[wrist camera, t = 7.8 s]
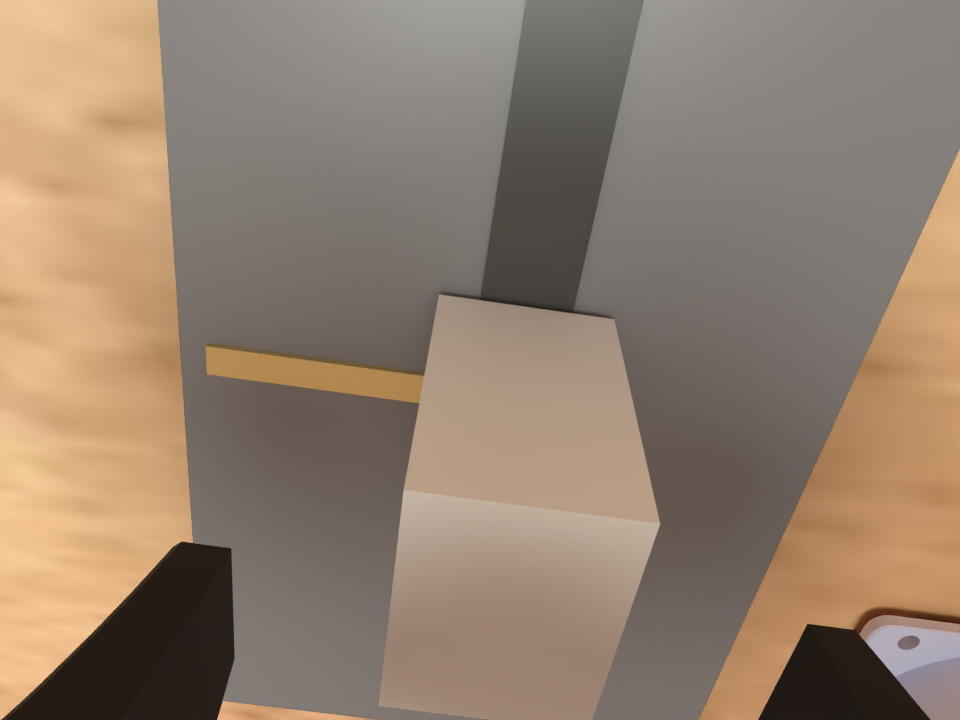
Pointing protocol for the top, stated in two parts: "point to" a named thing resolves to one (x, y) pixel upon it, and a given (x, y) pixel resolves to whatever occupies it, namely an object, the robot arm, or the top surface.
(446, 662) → the fader tab
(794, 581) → the top surface
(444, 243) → the fader console
